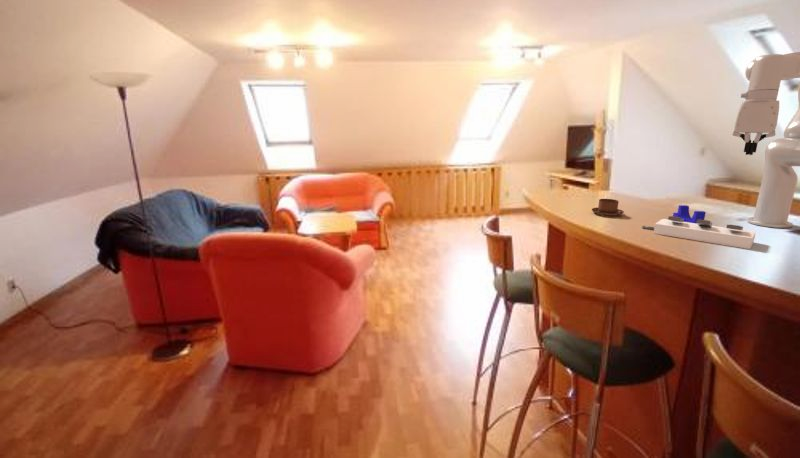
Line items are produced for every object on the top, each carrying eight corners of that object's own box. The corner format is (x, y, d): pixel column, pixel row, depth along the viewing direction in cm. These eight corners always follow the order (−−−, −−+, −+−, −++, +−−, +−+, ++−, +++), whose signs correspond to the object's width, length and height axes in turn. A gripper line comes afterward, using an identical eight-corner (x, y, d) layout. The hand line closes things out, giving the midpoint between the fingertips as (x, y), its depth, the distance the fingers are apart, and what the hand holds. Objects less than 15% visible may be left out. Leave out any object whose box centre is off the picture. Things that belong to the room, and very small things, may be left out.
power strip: (645, 225, 152) (647, 216, 151) (753, 242, 131) (755, 231, 130) (637, 230, 145) (639, 221, 144) (749, 249, 124) (752, 238, 123)
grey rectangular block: (728, 228, 133) (729, 224, 133) (742, 230, 131) (743, 226, 130) (726, 228, 129) (727, 224, 129) (740, 230, 126) (741, 226, 126)
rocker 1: (698, 225, 138) (699, 221, 138) (711, 227, 136) (712, 223, 136) (696, 222, 134) (697, 218, 134) (709, 224, 132) (710, 220, 132)
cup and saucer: (594, 210, 179) (596, 196, 177) (625, 213, 172) (627, 199, 170) (588, 215, 169) (590, 201, 168) (620, 219, 162) (622, 204, 161)
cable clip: (672, 219, 161) (674, 205, 160) (684, 220, 161) (686, 205, 159) (689, 227, 150) (692, 211, 148) (702, 227, 149) (705, 212, 148)
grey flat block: (671, 220, 144) (672, 217, 144) (683, 222, 142) (684, 218, 141) (668, 219, 140) (668, 215, 140) (680, 221, 137) (681, 217, 137)
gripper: (730, 97, 132) (719, 154, 137) (793, 95, 122) (778, 156, 127) (733, 97, 137) (722, 152, 142) (794, 95, 127) (780, 155, 132)
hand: (749, 154), depth 134 cm, fingers closed
